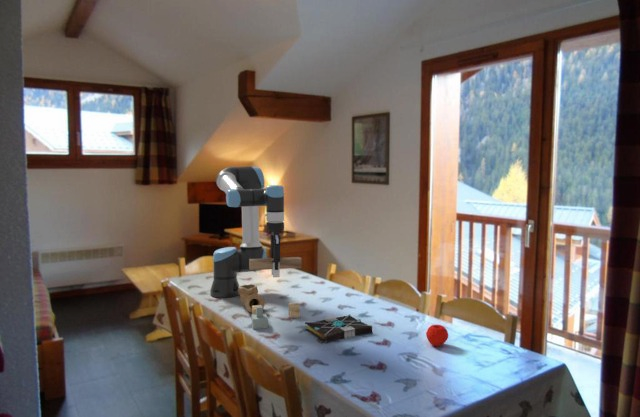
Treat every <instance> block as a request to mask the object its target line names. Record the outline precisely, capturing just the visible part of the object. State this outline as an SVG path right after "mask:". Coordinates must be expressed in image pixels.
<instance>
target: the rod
mask: <svg viewBox="0 0 640 417" xmlns="http://www.w3.org/2000/svg"><path fill="white" fill-rule="evenodd" d="M302 260H303V259H302V257H300V256H290V257H288V256H287V257H280V270H283V269H285V270H289V269H302V267H303V266H302V265H303V264H302ZM272 261H273V258H271V257H266V258H262V259H249V269H250V270H261V271H262V270H267V271H268V270H272V269H273V263H272Z"/></svg>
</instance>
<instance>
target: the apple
mask: <svg viewBox="0 0 640 417" xmlns="http://www.w3.org/2000/svg"><path fill="white" fill-rule="evenodd" d="M425 336H426V339H427V341H428V342H429V344H431V345H432V346H434V347H440V346H442V345H444V343H445V342H447V341H448V339H449V332H448V330H447V328H446V327H445V326H443V325H442V324H432V325H430V326H429V327H428V328H427V330H426V332H425Z"/></svg>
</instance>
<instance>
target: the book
mask: <svg viewBox="0 0 640 417" xmlns="http://www.w3.org/2000/svg"><path fill="white" fill-rule="evenodd" d="M304 324H305V325H307V328H305V330H306V331H307V332H309V333H310V334H312V335H314V336H315V337H316V338H318V339H319V340H321V341H322V342H323V343H324V344H327V343H329V342H333V341H338V340H343V339H344V340H345V339H350V338H355V337H358V336H362V335H369V334H372V335H373V325H370V324H367V323H365V322H362V319H361V318H359V319H356V318H355V317H353V316H351V314H348V315H343V316H339V317H328V318H324V319H321V320H315V321H304Z"/></svg>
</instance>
